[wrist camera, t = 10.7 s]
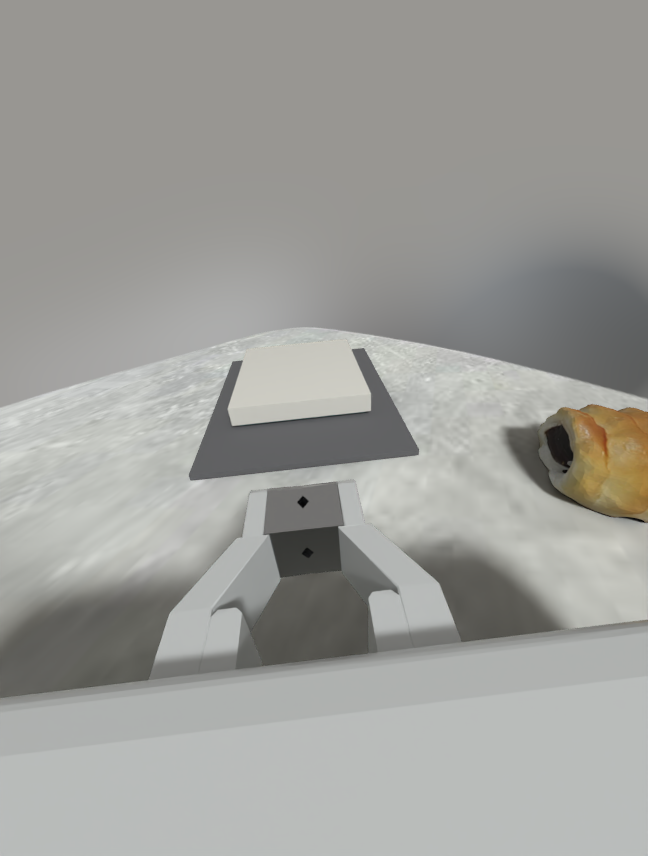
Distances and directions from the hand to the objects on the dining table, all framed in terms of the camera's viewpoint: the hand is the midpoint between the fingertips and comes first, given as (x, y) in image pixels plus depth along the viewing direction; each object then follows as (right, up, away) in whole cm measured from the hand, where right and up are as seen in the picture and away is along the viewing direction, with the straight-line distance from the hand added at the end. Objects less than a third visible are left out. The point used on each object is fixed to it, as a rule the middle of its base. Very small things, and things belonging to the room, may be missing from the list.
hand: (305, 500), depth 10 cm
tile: (-1, +3, +13) cm, 14 cm away
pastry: (+17, -1, +8) cm, 19 cm away
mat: (-1, +5, +18) cm, 19 cm away
